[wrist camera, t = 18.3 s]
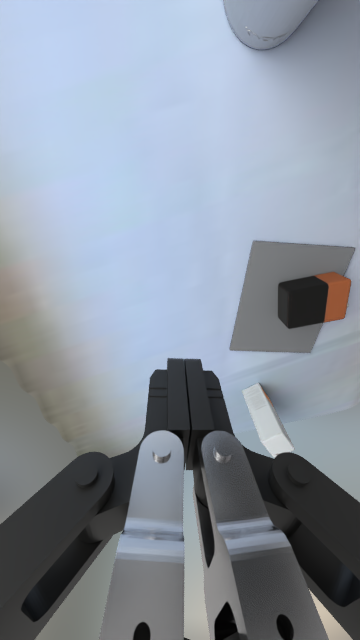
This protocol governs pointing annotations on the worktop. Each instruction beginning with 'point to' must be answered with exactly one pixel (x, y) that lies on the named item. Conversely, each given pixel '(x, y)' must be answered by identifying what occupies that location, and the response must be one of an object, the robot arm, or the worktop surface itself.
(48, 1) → the worktop surface
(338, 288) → the battery
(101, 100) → the worktop surface
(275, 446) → the skincare box
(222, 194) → the worktop surface
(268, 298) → the rubber mat
